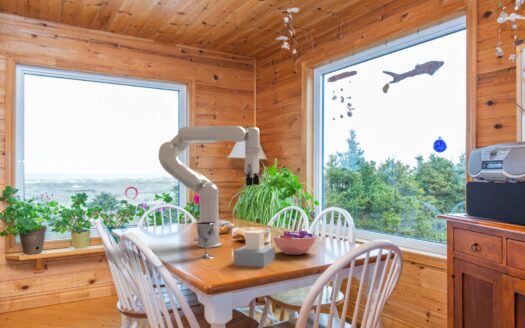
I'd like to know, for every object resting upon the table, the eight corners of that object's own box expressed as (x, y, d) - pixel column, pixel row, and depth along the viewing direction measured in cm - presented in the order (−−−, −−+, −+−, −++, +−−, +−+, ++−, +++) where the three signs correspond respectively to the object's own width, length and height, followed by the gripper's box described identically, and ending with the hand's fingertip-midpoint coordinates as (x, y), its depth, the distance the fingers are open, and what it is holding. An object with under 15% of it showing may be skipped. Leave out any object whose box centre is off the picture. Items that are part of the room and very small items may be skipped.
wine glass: (200, 259, 163) (199, 224, 163) (194, 256, 170) (194, 222, 170) (217, 257, 166) (217, 223, 167) (211, 254, 173) (211, 221, 174)
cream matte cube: (245, 249, 156) (245, 232, 156) (250, 246, 161) (250, 230, 161) (259, 250, 154) (259, 233, 154) (264, 247, 159) (264, 230, 159)
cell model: (272, 250, 181) (272, 226, 181) (315, 249, 181) (314, 225, 181) (272, 258, 164) (272, 232, 164) (319, 258, 164) (319, 231, 164)
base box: (233, 265, 154) (233, 250, 154) (246, 258, 166) (246, 244, 166) (264, 268, 149) (263, 252, 149) (274, 260, 161) (274, 246, 161)
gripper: (251, 152, 206) (251, 184, 206) (239, 151, 190) (239, 185, 190) (264, 152, 204) (265, 184, 203) (253, 150, 187) (253, 185, 187)
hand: (252, 184), depth 196 cm, fingers open, 9 cm apart
